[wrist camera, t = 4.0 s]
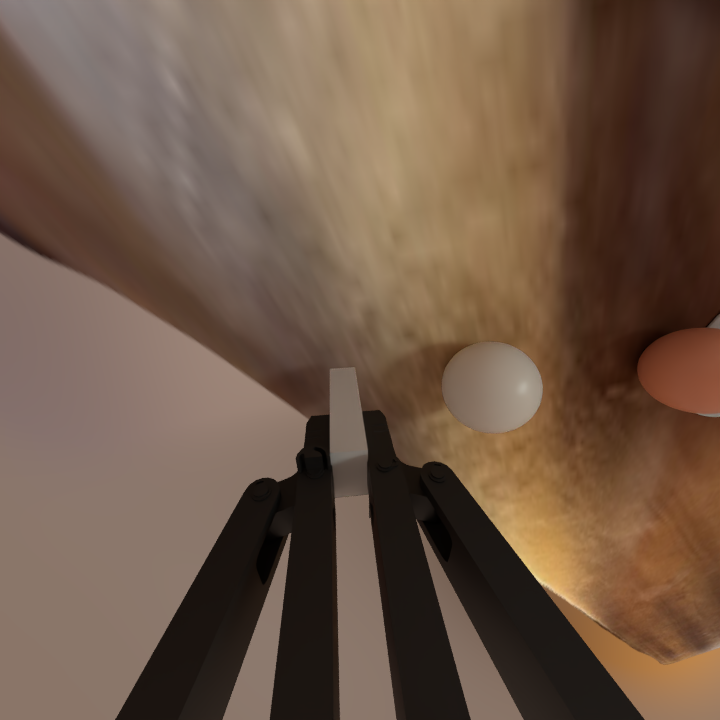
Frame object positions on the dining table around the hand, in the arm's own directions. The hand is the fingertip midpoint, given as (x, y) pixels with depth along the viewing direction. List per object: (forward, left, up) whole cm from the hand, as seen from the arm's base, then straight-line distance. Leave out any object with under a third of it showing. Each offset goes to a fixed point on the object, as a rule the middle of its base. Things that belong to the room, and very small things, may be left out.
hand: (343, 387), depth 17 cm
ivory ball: (-9, 0, +1) cm, 9 cm away
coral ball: (-23, 0, +1) cm, 23 cm away
